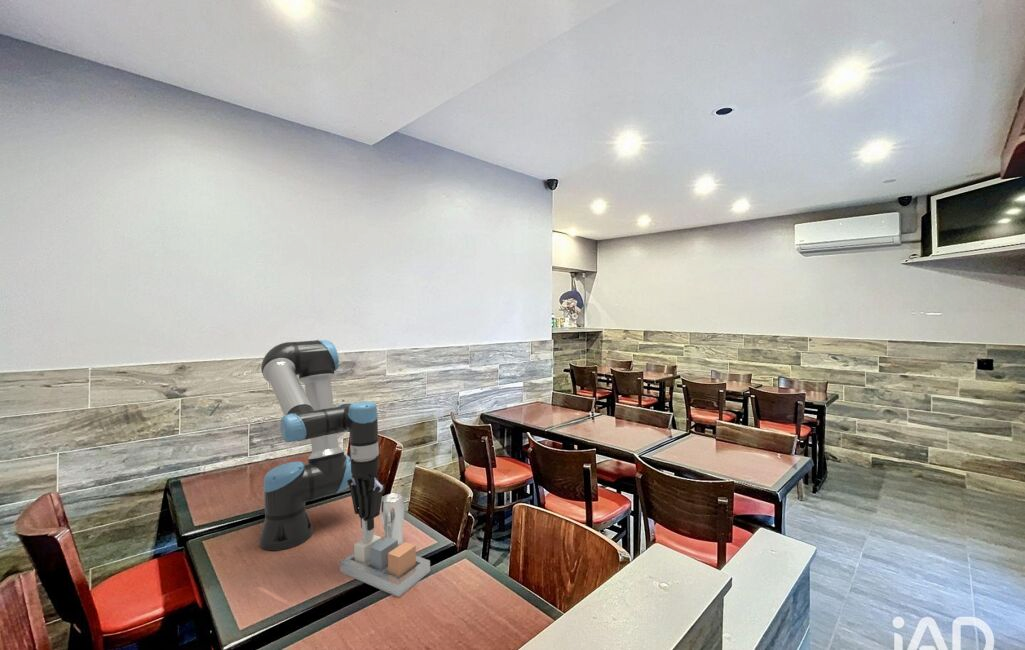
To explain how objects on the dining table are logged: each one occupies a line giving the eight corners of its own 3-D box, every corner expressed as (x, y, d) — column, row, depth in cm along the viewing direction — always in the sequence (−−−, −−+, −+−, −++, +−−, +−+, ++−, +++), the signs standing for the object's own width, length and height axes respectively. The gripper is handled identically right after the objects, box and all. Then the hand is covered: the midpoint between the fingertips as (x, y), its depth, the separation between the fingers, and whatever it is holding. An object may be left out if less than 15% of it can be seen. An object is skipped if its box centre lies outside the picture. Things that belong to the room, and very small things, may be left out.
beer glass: (399, 551, 129) (397, 503, 129) (377, 549, 130) (376, 501, 130) (409, 539, 136) (407, 493, 135) (388, 538, 137) (387, 492, 137)
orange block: (388, 571, 113) (387, 553, 112) (405, 559, 118) (404, 542, 118) (399, 576, 111) (398, 557, 110) (416, 563, 116) (415, 545, 116)
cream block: (354, 561, 119) (354, 544, 119) (372, 550, 125) (371, 533, 124) (364, 565, 117) (363, 547, 117) (381, 554, 123) (381, 537, 122)
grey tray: (340, 575, 118) (340, 561, 118) (374, 553, 128) (374, 540, 128) (398, 600, 107) (397, 585, 107) (430, 574, 117) (429, 560, 117)
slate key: (371, 565, 116) (370, 547, 116) (388, 553, 121) (387, 536, 121) (381, 569, 114) (380, 551, 114) (398, 557, 119) (397, 540, 119)
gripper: (338, 458, 120) (341, 540, 121) (370, 465, 113) (373, 552, 114) (359, 450, 126) (362, 528, 127) (391, 456, 120) (394, 539, 121)
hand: (368, 539), depth 121 cm, fingers closed
